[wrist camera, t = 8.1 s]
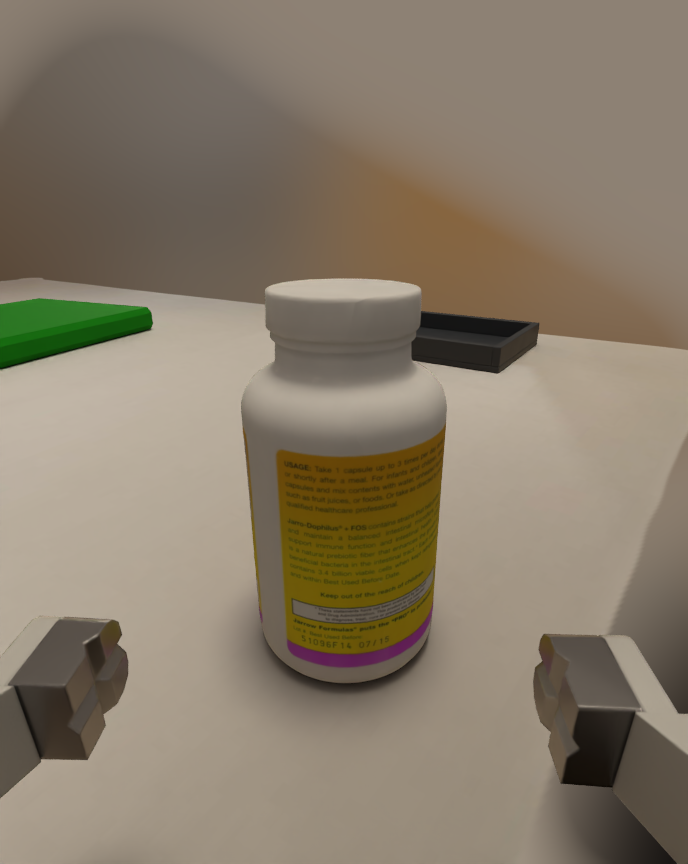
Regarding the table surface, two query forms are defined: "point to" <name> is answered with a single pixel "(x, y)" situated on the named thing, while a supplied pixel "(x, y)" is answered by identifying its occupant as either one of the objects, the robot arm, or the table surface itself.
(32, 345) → the book
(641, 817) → the robot arm
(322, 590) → the supplement bottle
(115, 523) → the table surface
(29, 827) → the table surface
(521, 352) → the tray
